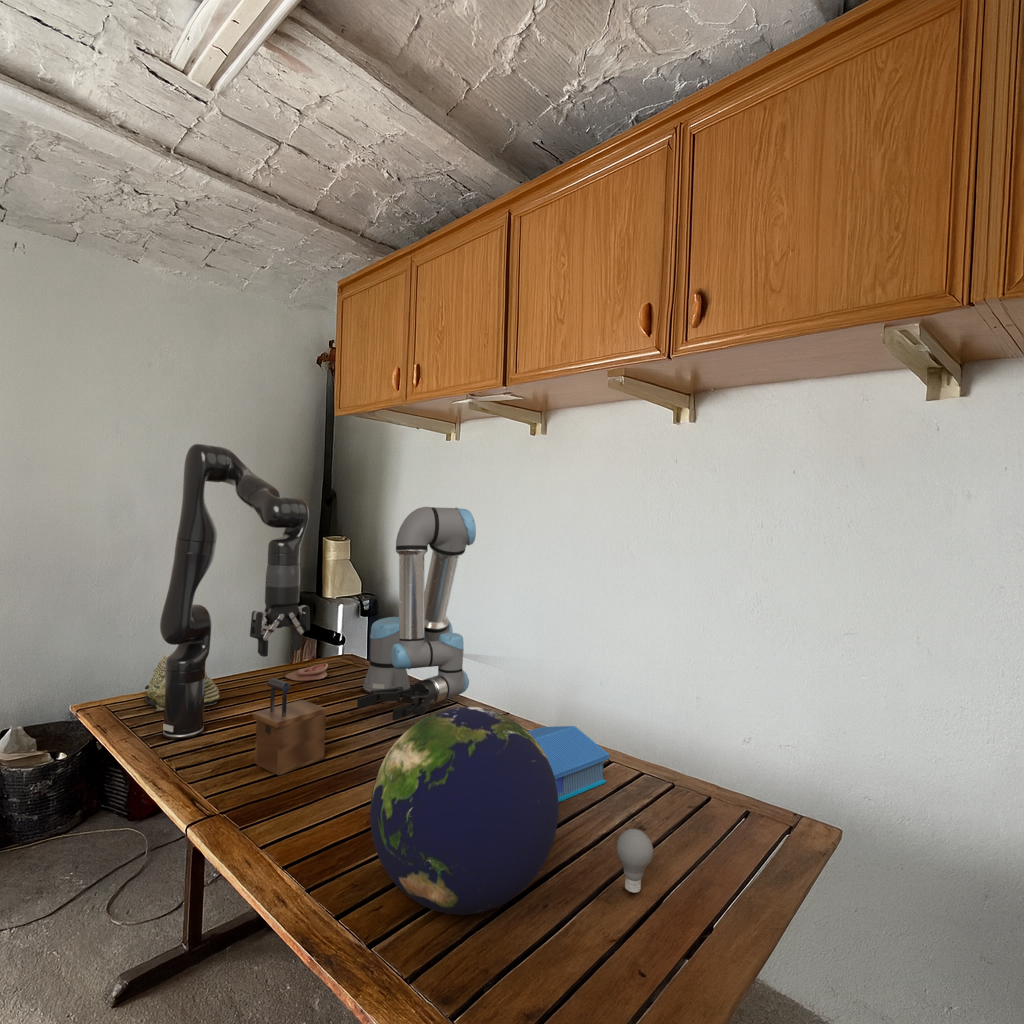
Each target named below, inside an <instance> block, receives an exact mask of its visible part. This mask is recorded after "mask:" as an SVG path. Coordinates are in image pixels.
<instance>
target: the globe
mask: <svg viewBox="0 0 1024 1024" xmlns="http://www.w3.org/2000/svg"><path fill="white" fill-rule="evenodd" d="M527 731H528V730H526V728H524V727H523V726H522V725H521V724H519V723H518V722H516V721H515V720H513V719H512V718H510V717H508V716H506V715H504V714H502V713H499V712H497V711H494V710H491V709H487V708H482V707H480V706H479V707H478V706H461V707H460V706H459V707H453V708H447V709H442V710H441V711H437V712H435V713H433V714H429V715H428V716H426V717H424V718H422V719H421V720H419V721H418V722H416V723H415V724H413V725H412V726H410V728H408V729H407V730H406V731H404V732H403V734H401V736H400V737H399V738H398V739H397V740H396V741H394V743H393V745H392V746H391V748H390V749H389V750H388V751H387V753H386V755H385V757H384V758H383V761H382V762H381V765H380V767H379V769H378V771H377V774H376V777H375V780H374V784H373V787H372V792H371V798H370V807H369V821H370V830H371V831H370V832H371V837H372V843H373V845H374V848H375V851H376V854H377V857H378V859H379V861H380V863H381V865H382V867H383V869H384V871H385V872H386V874H387V876H388V877H389V878H390V879H391V881H392V882H393V883H394V885H395V886H397V887H398V888H399V889H400V890H401V891H402V893H404V894H405V895H406V896H407V897H408V898H409V899H411V900H413V901H414V902H416V903H417V904H419V905H421V906H423V907H425V908H427V909H430V910H432V911H435V912H438V913H442V914H447V915H454V916H467V915H468V916H469V915H476V914H481V913H485V912H488V911H492V910H494V909H497V908H499V907H501V906H503V905H505V904H507V903H508V902H510V901H511V900H513V899H514V898H516V897H517V896H518V895H520V894H521V892H523V891H524V890H525V889H526V888H527V887H528V886H529V885H530V884H531V883H532V882H533V881H534V879H535V878H536V877H537V876H538V875H539V873H540V872H541V870H542V869H543V866H544V865H545V863H546V861H547V859H548V857H549V855H550V852H551V850H552V847H553V845H554V842H555V838H556V834H557V828H558V823H559V812H560V809H559V807H560V805H559V803H560V802H559V803H558V792H557V786H556V781H555V777H554V774H553V771H552V768H551V766H550V763H549V761H548V758H547V756H546V755H545V753H544V751H543V750H542V748H541V746H540V745H539V744H538V742H537V741H536V740H535V739H534V738H533V737H532V736H531V735H530V734H529V732H527Z"/></svg>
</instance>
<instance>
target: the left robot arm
mask: <svg viewBox="0 0 1024 1024" xmlns="http://www.w3.org/2000/svg"><path fill="white" fill-rule="evenodd" d="M206 482H208V483H210V482H211V483H224V484H228V485H231V486H233V487H234V490H235V491H234V492H235V494H236V496H237V497H238V498H239V500H240V501H241V502H243V503H244V504H245V505H246V506H247V507H249V508H251V509H252V510H254V512H255V513H256V515H257V516H258V518H259V519H260V521H261V522H262V523H263V524H264V525H266V526H268V527H270V528H273V529H283V528H284V529H283V531H282V534H281V535H280V536H278V537H275V538H272V539H270V540H269V541H268V545H267V560H266V561H267V566H266V572H265V584H264V585H265V586H264V587H265V588H264V591H265V592H264V604H265V608H264V611H263V610H262V611H258V610H253V611H251V616H250V617H251V619H250V627H249V628H250V629H249V637H250V638H253V639H257V653H258V655H259V656H260V657H264V658H265V657H268V655H269V640H268V639H269V637H270V636H271V634H272V633H274V632H275V631H276V629H282V628H284V627H285V628H290V629H291V631H292V632H293V633H292V635H291V637H292V638H291V650H293V651H296V652H297V651H300V650H301V648H302V645H303V644H302V642H303V634H304V633H306V632H308V631H310V630H311V607H310V605H305V604H300V605H298V604H299V603H300V594H301V593H300V590H301V587H300V586H301V567H300V562H301V559H300V558H301V545H302V542H303V539H304V536H305V533H306V530H307V526H308V522H309V519H310V511H309V506H308V505H307V503H306V502H305V501H304V499H302V498H301V497H300V498H299V497H282V496H281V494H280V492H279V490H278V489H277V488H276V487H275V486H274V485H272V484H271V483H269V482H267V481H265V480H264V479H262V478H261V477H259V476H258V475H257V474H255V473H254V472H253V471H252V470H250V468H248V466H246V464H244V462H243V461H242V460H241V459H240V458H239V457H238V456H237V455H236V454H235V453H234V452H233V451H232V450H231V449H228V448H226V447H222V446H217V445H211V444H210V445H209V444H204V443H203V444H202V443H195V444H192V445H191V446H190V447H189V448H188V450H187V452H186V455H185V459H184V465H183V482H182V500H181V508H180V516H179V524H178V529H177V533H176V540H175V547H174V553H173V554H174V555H173V562H172V567H171V574H170V580H169V585H168V589H167V594H166V596H165V601H164V604H163V608H162V612H161V616H160V621H159V631H160V635H161V637H162V639H163V641H164V642H165V643H167V644H168V645H172V646H176V645H177V646H176V647H175V650H173V652H172V653H170V654H169V655H170V656H169V657H168V658H167V660H166V674H165V705H164V710H163V723H162V725H163V728H162V737H164V738H166V739H169V740H185V739H190V738H191V739H192V738H194V737H197V736H199V735H202V734H203V732H204V730H205V729H204V727H205V725H204V722H205V721H204V718H205V706H204V693H205V672H206V664H207V663H206V662H207V659H208V657H209V654H210V649H211V639H212V617H211V614H210V612H209V610H208V609H207V608H206V607H205V606H203V605H201V604H196V603H195V604H194V599H195V595H196V592H197V589H198V587H199V585H200V584H201V582H202V580H203V579H204V577H205V576H206V574H207V573H208V571H209V569H210V567H211V565H212V563H213V561H214V558H215V554H216V548H217V540H218V531H217V527H216V525H215V522H214V521H213V517H212V516H211V514H210V512H209V510H208V507H207V504H206V500H205V498H206V497H205V491H206V490H205V488H206ZM298 615H299V620H298V619H297V616H298ZM264 620H265V621H264ZM263 621H264V622H263ZM148 688H149V684H147V685H146V686H145V688H144V690H148ZM144 702H145V703H146V704H148V705H149V706H152V707H154V708H156V706H155V703H154V702H153V701H152V700H150V698H149V697H148V695H146V696H145V697H144Z"/></svg>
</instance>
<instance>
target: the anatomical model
mask: <svg viewBox="0 0 1024 1024" xmlns="http://www.w3.org/2000/svg"><path fill="white" fill-rule="evenodd" d="M328 667H329V664H328V663H327V662H323V663H319V664H315V665H311V666H308V667H305V668H300V669H297V670H295V671H292V672H289V673H287V674H285V676H284V678H286V679H288V680H292V681H303V682H304V681H316V680H321V679H325V678H326V677H328V672H327V670H328Z"/></svg>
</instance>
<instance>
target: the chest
mask: <svg viewBox="0 0 1024 1024" xmlns="http://www.w3.org/2000/svg"><path fill="white" fill-rule="evenodd" d="M326 722H327V713H325V714H322V715H319V716H315V717H312V718H309V719H306V720H302V721H299V722H296V723H292V724H289V725H286V726H282V727H279V728H275V727H273V726H271V725H268V724H266V723H263V722H261V721H258V720H256V719H255V725H256V726H255V749H254V764H255V765H257V766H259V767H260V768H263V769H265V770H267V771H269V772H271V773H272V774H275V775H277V776H281V775H284V774H287V773H289V772H292V771H295V770H297V769H301V768H304V767H306V766H309V765H311V764H314V763H316V762H319V761H322V760H324V759H325V751H326Z"/></svg>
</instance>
